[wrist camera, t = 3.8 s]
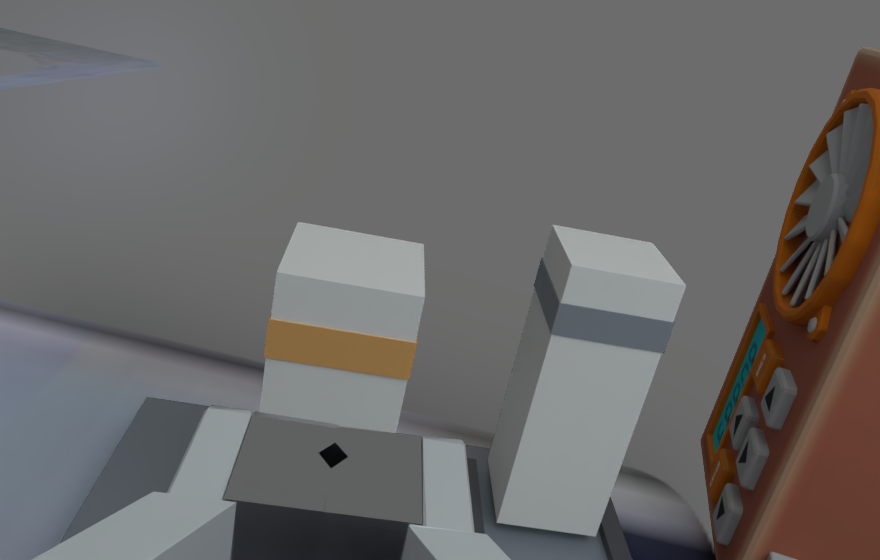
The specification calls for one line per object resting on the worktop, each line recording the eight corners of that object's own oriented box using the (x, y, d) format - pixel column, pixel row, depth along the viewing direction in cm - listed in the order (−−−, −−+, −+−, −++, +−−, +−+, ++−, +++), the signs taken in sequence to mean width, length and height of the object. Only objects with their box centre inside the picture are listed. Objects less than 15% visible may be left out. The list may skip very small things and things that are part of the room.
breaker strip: (-21, 719, 21) (-44, 298, 16) (145, 425, 34) (161, 140, 29) (678, 792, 23) (854, 441, 18) (585, 489, 36) (672, 235, 31)
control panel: (703, 624, 30) (684, 426, 43) (890, 688, 29) (811, 464, 42) (959, 69, 21) (835, 40, 35) (1235, 130, 20) (997, 75, 34)
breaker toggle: (235, 582, 24) (274, 272, 20) (259, 497, 28) (297, 220, 24) (362, 599, 25) (427, 298, 21) (369, 512, 29) (425, 243, 24)
